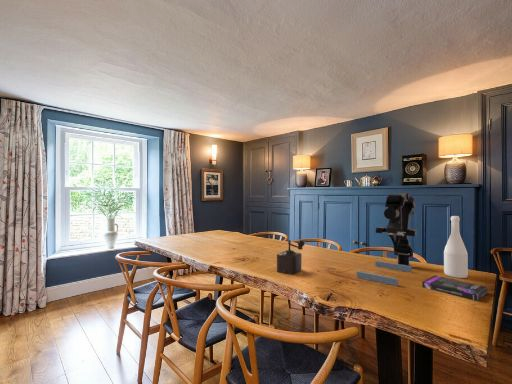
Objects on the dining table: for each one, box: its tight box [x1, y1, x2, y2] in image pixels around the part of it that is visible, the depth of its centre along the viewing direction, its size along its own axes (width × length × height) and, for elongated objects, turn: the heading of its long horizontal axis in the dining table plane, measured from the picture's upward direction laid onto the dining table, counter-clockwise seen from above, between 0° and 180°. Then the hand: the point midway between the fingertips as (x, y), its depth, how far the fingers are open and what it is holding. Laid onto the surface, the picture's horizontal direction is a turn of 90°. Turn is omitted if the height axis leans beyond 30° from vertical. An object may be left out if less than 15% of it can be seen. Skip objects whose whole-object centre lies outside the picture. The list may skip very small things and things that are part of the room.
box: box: [421, 275, 489, 302], centre depth 112 cm, size 14×4×20 cm
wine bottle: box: [443, 215, 469, 279], centre depth 132 cm, size 10×10×30 cm
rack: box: [356, 260, 413, 287], centre depth 134 cm, size 28×18×3 cm, turn 138°
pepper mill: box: [276, 239, 306, 275], centre depth 139 cm, size 16×11×18 cm
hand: (395, 247), depth 138 cm, fingers closed
